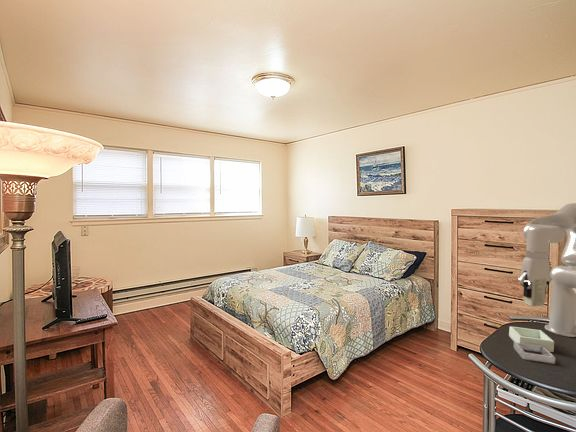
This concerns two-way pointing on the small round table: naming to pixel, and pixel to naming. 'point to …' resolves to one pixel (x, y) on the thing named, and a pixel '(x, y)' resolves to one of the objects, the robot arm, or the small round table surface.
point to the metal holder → (546, 356)
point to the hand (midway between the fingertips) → (534, 296)
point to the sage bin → (531, 337)
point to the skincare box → (536, 293)
